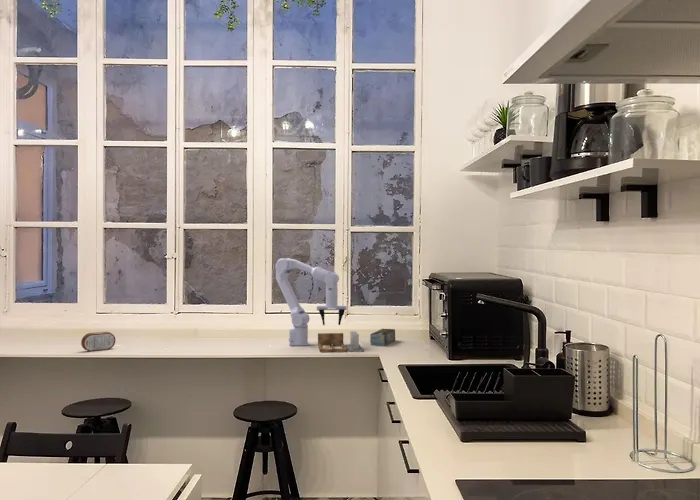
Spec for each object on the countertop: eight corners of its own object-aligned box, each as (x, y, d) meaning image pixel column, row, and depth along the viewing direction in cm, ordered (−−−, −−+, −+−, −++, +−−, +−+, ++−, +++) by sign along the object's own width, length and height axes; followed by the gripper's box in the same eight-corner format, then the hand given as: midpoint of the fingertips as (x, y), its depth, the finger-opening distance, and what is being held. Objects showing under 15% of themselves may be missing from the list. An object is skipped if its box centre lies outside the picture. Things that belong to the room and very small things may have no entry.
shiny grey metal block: (352, 349, 281) (352, 334, 281) (350, 345, 292) (350, 331, 292) (358, 349, 281) (358, 334, 281) (355, 345, 292) (356, 331, 292)
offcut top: (323, 351, 279) (323, 349, 279) (322, 346, 292) (322, 345, 292) (330, 351, 279) (330, 349, 279) (329, 346, 292) (329, 345, 292)
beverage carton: (369, 345, 296) (369, 332, 296) (381, 340, 314) (381, 327, 314) (384, 346, 293) (384, 333, 293) (395, 341, 311) (395, 328, 311)
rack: (320, 352, 276) (320, 339, 275) (317, 345, 295) (317, 333, 295) (347, 351, 277) (347, 339, 277) (343, 345, 296) (343, 333, 296)
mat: (349, 351, 278) (349, 350, 278) (345, 345, 295) (345, 344, 295) (363, 351, 278) (363, 350, 278) (359, 345, 296) (359, 344, 296)
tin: (113, 348, 284) (113, 330, 284) (116, 349, 282) (116, 331, 282) (80, 351, 274) (80, 333, 274) (83, 352, 272) (83, 334, 272)
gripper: (317, 298, 288) (317, 326, 288) (347, 297, 289) (347, 325, 289) (316, 296, 295) (316, 324, 295) (345, 296, 296) (345, 324, 296)
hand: (331, 325), depth 293 cm, fingers open, 7 cm apart
